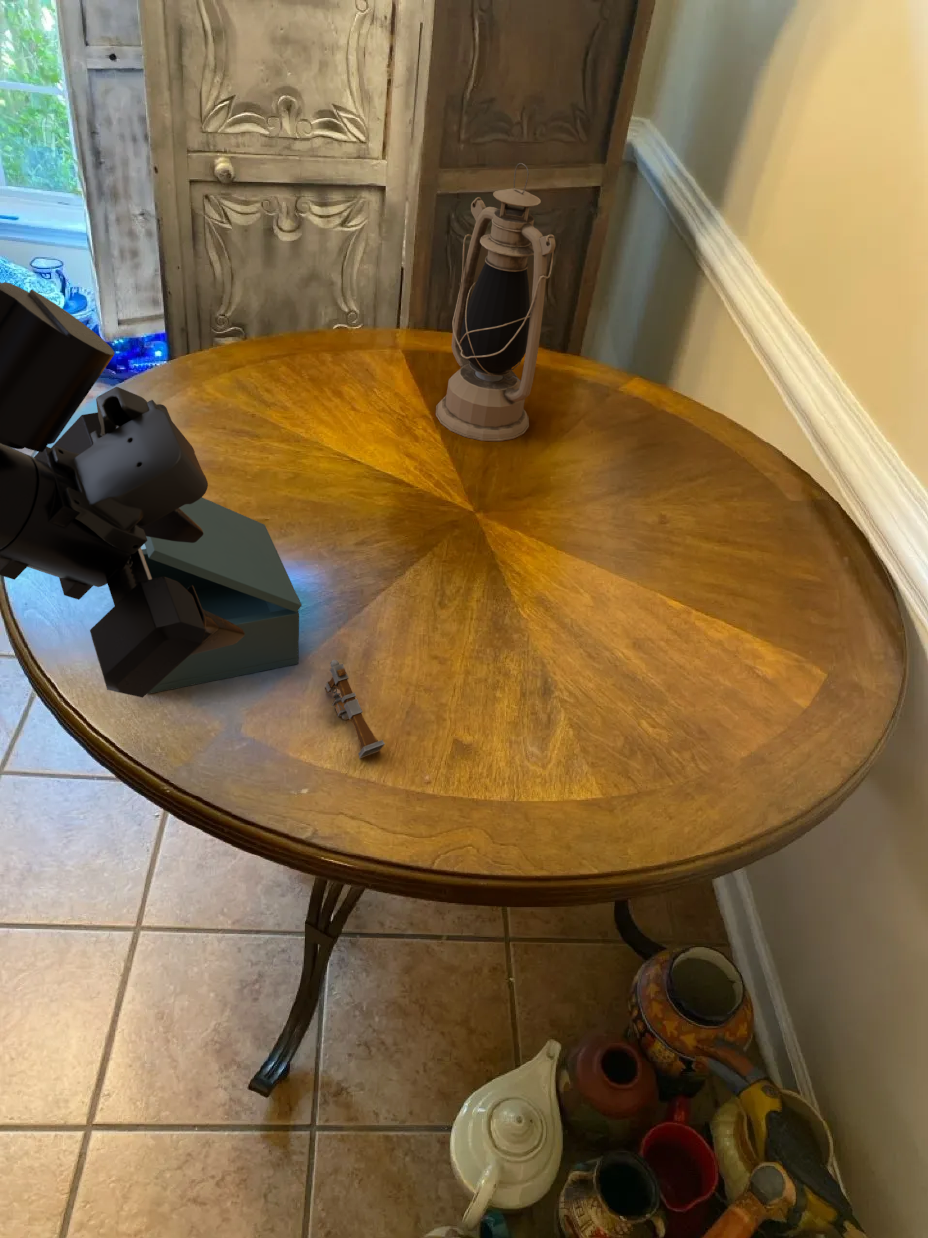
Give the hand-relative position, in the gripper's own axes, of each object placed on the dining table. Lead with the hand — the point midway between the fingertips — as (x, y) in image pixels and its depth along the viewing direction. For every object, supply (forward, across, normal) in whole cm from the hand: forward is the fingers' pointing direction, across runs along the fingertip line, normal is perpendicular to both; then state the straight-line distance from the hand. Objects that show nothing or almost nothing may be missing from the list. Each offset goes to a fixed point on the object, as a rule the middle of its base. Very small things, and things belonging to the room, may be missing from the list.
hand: (218, 585), depth 62 cm
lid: (+7, +11, +4) cm, 14 cm away
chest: (+13, +9, +12) cm, 20 cm away
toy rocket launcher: (+17, -5, +5) cm, 18 cm away
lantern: (+49, +37, -13) cm, 62 cm away
